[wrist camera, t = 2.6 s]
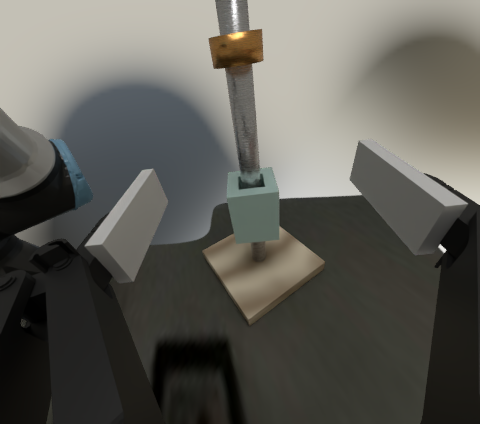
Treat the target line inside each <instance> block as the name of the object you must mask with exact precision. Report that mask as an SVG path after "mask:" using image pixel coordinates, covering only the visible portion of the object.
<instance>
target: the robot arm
mask: <svg viewBox="0 0 480 424" xmlns="http://www.w3.org/2000/svg"><path fill="white" fill-rule="evenodd" d="M350 181H351V182H352V183H353V184H354V185H355V186H356V188H357V189H358V190H359V191H360V192H361V193H362V195H363V196H364V197H365V198H366V199H367V200H368V202H369V203H370V204H371V205H372V206H373V207H374V208H375V210H376V211H377V212H378V213H379V214H380V215H381V217H382V218H383V219H384V220H385V221H386V222H387V224H388V225H389V226H390V227H391V228H392V229H393V230H394V232H395V233H396V234H397V235H398V236H399V237H400V239H401V240H402V241H403V242H404V243H405V244H406V246H407V247H408V248H409V249H410V250H411V251H412V253H413V254H414V255H422V254H433V253H434V252H435V250H436V249H437V247H438V246H439V245H440V244H441V245H442V246H443V247H444V248H445V249H446V250H447V251H446V252H445V253H444V254H443V256H442V257H441V258H440V260H439V261H438V262H437V263H436V265H435V268H438V267H439V266H440V265H441V273H440V281H439V289H438V297H437V305H436V313H435V321H434V329H433V337H432V345H431V353H430V361H429V369H428V377H427V385H426V393H425V401H424V409H423V416H422V420H421V423H420V424H480V205H478V204H477V203H475V202H474V201H472V200H471V199H469V198H467V197H466V196H464V195H463V194H461V193H460V192H458V191H457V190H454V188H452V187H451V186H449V185H446V183H444V182H443V181H441V180H439V179H438V178H436V177H433V176H431V175H428V174H425V173H421V172H420V171H419V170H417V169H416V168H414V167H413V166H411V165H410V164H408V163H407V162H405V161H404V160H402V159H401V158H399V157H398V156H396V155H395V154H393V153H392V152H390V151H389V150H387V149H386V148H384V147H383V146H381V145H380V144H379V143H377V142H375V141H374V140H372V139H368V140H360V141H359V142H358V146H357V150H356V155H355V159H354V163H353V168H352V172H351V176H350ZM92 199H93V193H92V191H91V189H90V187H89V185H88V183H87V181H86V179H85V178H84V176H83V174H82V172H81V170H80V168H79V166H78V165H77V163H76V161H75V159H74V157H73V156H72V154H71V152H70V150H69V149H68V147H67V145H66V144H65V142H63V140H60V139H56V140H54V139H50V140H47V139H46V138H45V137H44V136H43V135H41V134H40V133H38V132H36V131H34V130H32V129H29V128H26V127H22V126H18V125H17V124H16V123H14V122H13V120H11V118H10V117H9V116H8V115H7V114H5V112H4V111H3V110H2V109H1V108H0V424H46V421H47V416H48V410H49V405H50V400H51V394H52V410H53V424H165V422H164V419H163V417H162V414H161V411H160V409H159V406H158V404H157V401H156V399H155V396H154V393H153V391H152V388H151V386H150V383H149V380H148V378H147V375H146V373H145V370H144V368H143V365H142V362H141V360H140V357H139V355H138V352H137V350H136V347H135V344H134V342H133V339H132V337H131V334H130V332H129V329H128V326H127V324H126V321H125V319H124V316H123V313H122V311H121V308H120V306H119V303H118V301H117V298H116V295H115V293H114V290H113V288H112V286H111V285H110V284H109V281H110V280H111V278H112V277H113V278H114V279H115V280H116V281H117V282H118V283H126V282H134V279H135V277H136V275H137V272H138V270H139V268H140V266H141V263H142V261H143V259H144V257H145V254H146V252H147V250H148V247H149V245H150V242H151V240H152V238H153V236H154V234H155V231H156V229H157V227H158V225H159V222H160V220H161V217H162V215H163V213H164V211H165V209H166V206H167V204H168V200H167V198H166V196H165V194H164V191H163V189H162V187H161V185H160V182H159V180H158V178H157V176H156V173H155V171H154V169H148V170H142V172H141V173H140V174H139V175H138V177H137V178H136V179H135V181H134V182H133V183H132V185H131V186H130V187H129V188H128V190H127V191H126V192H125V194H124V195H123V196H122V198H121V199H120V200H119V202H118V203H117V204H116V205H115V207H114V208H113V209H112V211H111V212H110V213H108V214H107V215H105V216H104V217H103V218H101V219H100V220H99V222H98V223H97V224H96V226H95V227H94V228H93V229H92V231H91V233H89V234H88V236H87V237H86V238H85V239H84V241H83V242H82V243H81V245H80V246H79V247H78V248H77V250H76V249H74V247H73V246H72V245H71V244H70V243H69V242H68V241H67V240H66V239H57V240H54V241H51V242H48V243H47V244H45V245H43V246H41V247H39V246H36V245H33V244H31V243H28V242H26V241H23V240H21V239H19V238H17V237H16V236H15V235H14V234H16V233H18V232H21V231H23V230H26V229H28V228H30V227H32V226H35V225H38V224H40V223H42V222H45V221H47V220H50V219H52V218H55V217H57V216H59V215H62V214H64V213H67V212H69V211H72V210H76V209H78V207H81V206H82V205H85V204H87V203H89V202H90V201H91V200H92ZM21 318H22V319H24V320H26V321H27V322H26V325H25V327H21Z"/></svg>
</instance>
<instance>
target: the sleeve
mask: <svg viewBox="0 0 480 424" xmlns="http://www.w3.org/2000/svg"><path fill="white" fill-rule="evenodd" d="M260 179H261V187H257V188H249V189H242V182H241V175H240V171H236V172H229V173H228V183H227V202H228V207H229V211H230V216H231V221H232V226H233V230H234V235H235V240H236V244H242V243H252V242H262V241H272V240H279V190H278V187H277V183H276V180H275V177H274V173H273V170H272V167H268V168H261V169H260Z"/></svg>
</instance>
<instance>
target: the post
mask: <svg viewBox="0 0 480 424" xmlns="http://www.w3.org/2000/svg"><path fill="white" fill-rule="evenodd" d="M215 2H216V9H217V15H218V22H219V29H220V36H217V37H212V38H209V44H210V50H211V55H212V61H213V67H214V69H220V68H225V71H226V77H227V84H228V92H229V99H230V106H231V113H232V120H233V126H234V133H235V140H236V147H237V154H238V161H239V168H240V175H241V182H242V189H249V188H257V187H261V179H260V167H259V154H258V153H259V152H258V139H257V125H256V111H255V99H254V85H253V71H252V63H257V62H261V61H263V44H262V43H263V41H262V29H259V30H251V31H249V18H248V4H247V0H215ZM250 244H251V251H252V258H253V260H255V261H257V262H262V261H264V260H265V259H266V246H265V241H262V242H252V243H250Z"/></svg>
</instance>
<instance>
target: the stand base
mask: <svg viewBox="0 0 480 424" xmlns="http://www.w3.org/2000/svg"><path fill="white" fill-rule="evenodd" d="M265 246H266V259H265V260H264V261H262V262H257V261H255V260H253V258H252V251H251V244H250V243H242V244H236V240H235V235H234V234H232V235H230V236H228V237H227V238H225V239H223V240H221V241H219V242H218V243H216V244H214V245H212V246H210V247H209V248H207V249H205V250H203V251H202V252H203V254H204V257H205V259H206V260H207V262H208V263H209V265H210V266H211V268H212V269H213V271H214V272H215V274H216V275H217V277H218V278H219V280H220V282H221V283H222V285H223V286H224V288H225V289H226V291H227V292H228V294H229V295H230V297H231V298H232V300H233V301H234V303H235V304H236V306H237V307H238V309H239V310H240V312H241V313H242V315H243V316H244V318H245V319H246V321H247V322H248V324H249V325H252V324H253V323H254V322H256V321H257V320H258V319H260V318H261V317H262V316H263V315H265V314H266V313H267V312H269V311H270V310H271V309H273V308H274V307H275V306H276V305H278V304H279V303H280V302H282V301H283V300H284V299H286V298H287V297H288V296H289V295H291V294H292V293H293V292H295V291H296V290H297V289H299V288H300V287H301V286H302V285H304V284H305V283H306V282H308V281H309V280H310V279H312V278H313V277H314V276H315V275H317V274H318V273H319V272H321V271H322V270H323V269H324V265H325V261H323V260H322V259H321V258H319V257H318V256H317V255H316V254H314V253H313V252H312V251H311V250H309V249H308V248H307V247H305V246H304V245H303V244H302V243H300V242H299V241H298V240H297V239H295V238H294V237H293V236H291V235H290V234H289V233H288V232H286V231H285V230H284V229H283V228H281V227H280V226H279V240H272V241H265Z"/></svg>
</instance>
